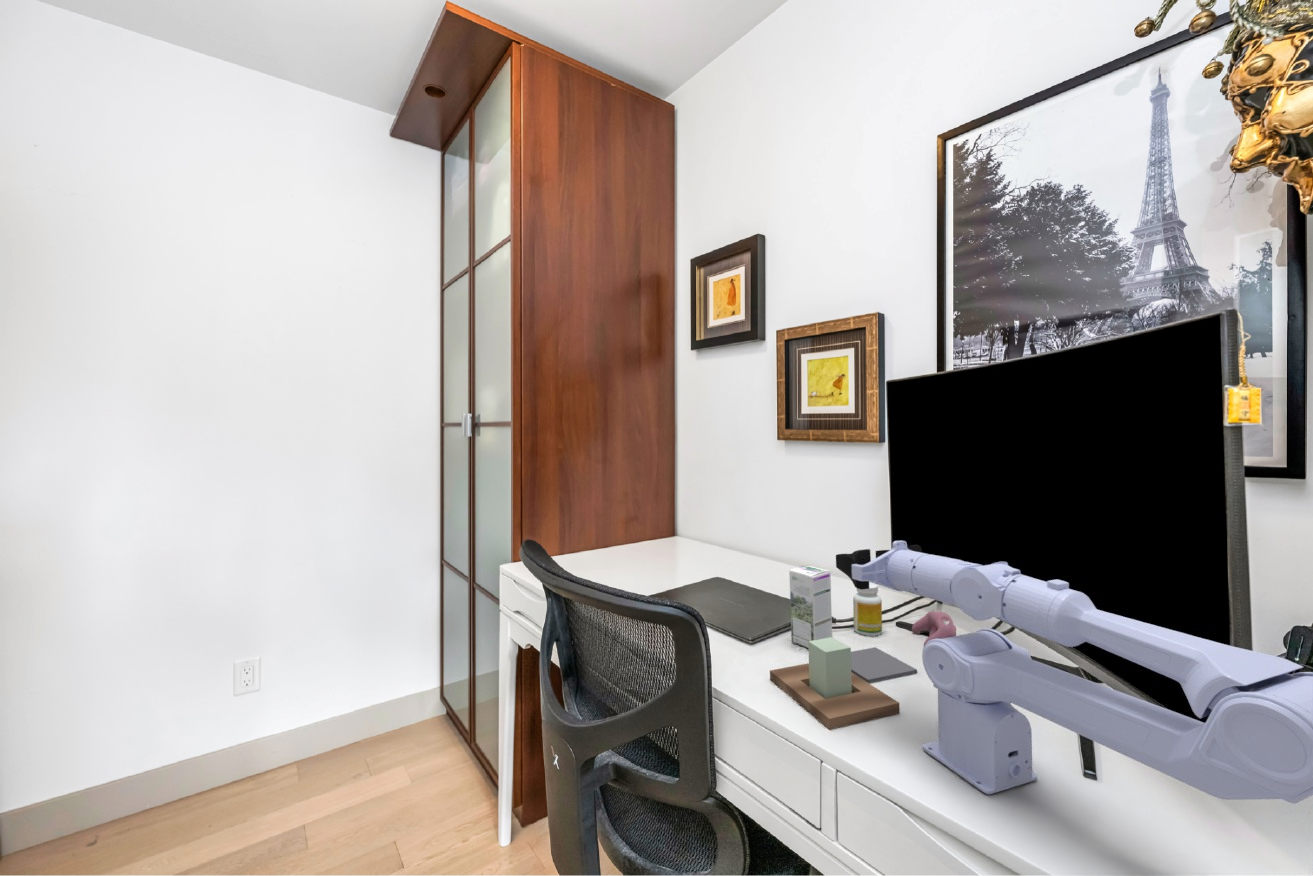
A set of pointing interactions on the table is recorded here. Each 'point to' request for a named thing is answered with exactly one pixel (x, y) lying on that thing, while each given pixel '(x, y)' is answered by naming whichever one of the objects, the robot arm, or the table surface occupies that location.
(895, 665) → the charcoal mat
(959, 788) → the table surface
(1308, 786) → the robot arm
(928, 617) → the video game controller
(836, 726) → the board
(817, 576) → the syrup box
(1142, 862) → the table surface
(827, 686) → the sage block
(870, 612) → the supplement bottle
